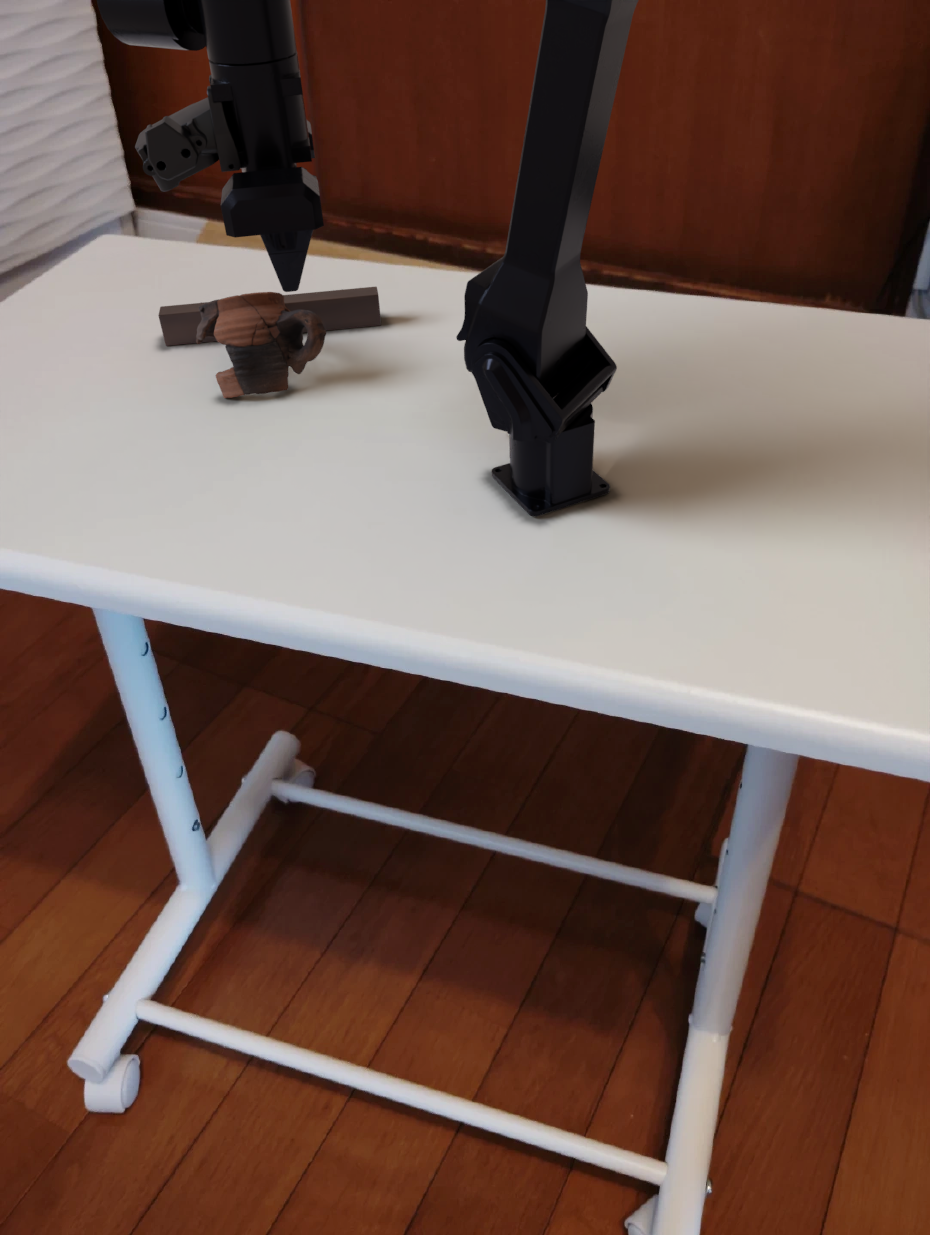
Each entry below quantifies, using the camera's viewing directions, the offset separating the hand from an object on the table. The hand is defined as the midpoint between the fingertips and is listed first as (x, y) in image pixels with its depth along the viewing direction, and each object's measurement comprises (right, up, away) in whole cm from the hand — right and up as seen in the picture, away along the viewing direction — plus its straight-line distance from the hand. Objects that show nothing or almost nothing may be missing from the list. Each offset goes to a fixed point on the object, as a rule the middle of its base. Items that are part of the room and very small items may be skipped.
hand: (290, 289), depth 76 cm
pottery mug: (-4, -3, +13) cm, 14 cm away
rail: (-5, +2, +20) cm, 20 cm away
